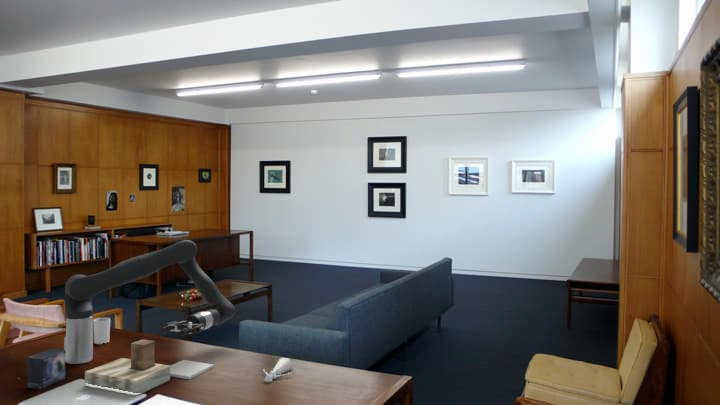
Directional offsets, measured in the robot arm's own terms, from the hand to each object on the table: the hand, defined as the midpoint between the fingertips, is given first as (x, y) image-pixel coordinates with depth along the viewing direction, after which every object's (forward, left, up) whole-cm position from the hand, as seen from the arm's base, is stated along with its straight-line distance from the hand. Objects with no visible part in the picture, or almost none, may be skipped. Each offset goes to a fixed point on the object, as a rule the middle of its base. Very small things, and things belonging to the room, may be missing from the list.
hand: (171, 332), depth 196 cm
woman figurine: (+40, +9, -14) cm, 43 cm away
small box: (-28, -29, -14) cm, 43 cm away
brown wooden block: (0, -15, -12) cm, 19 cm away
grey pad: (+7, 0, -13) cm, 15 cm away
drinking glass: (-50, +15, -14) cm, 54 cm away
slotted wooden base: (-3, -18, -13) cm, 23 cm away
